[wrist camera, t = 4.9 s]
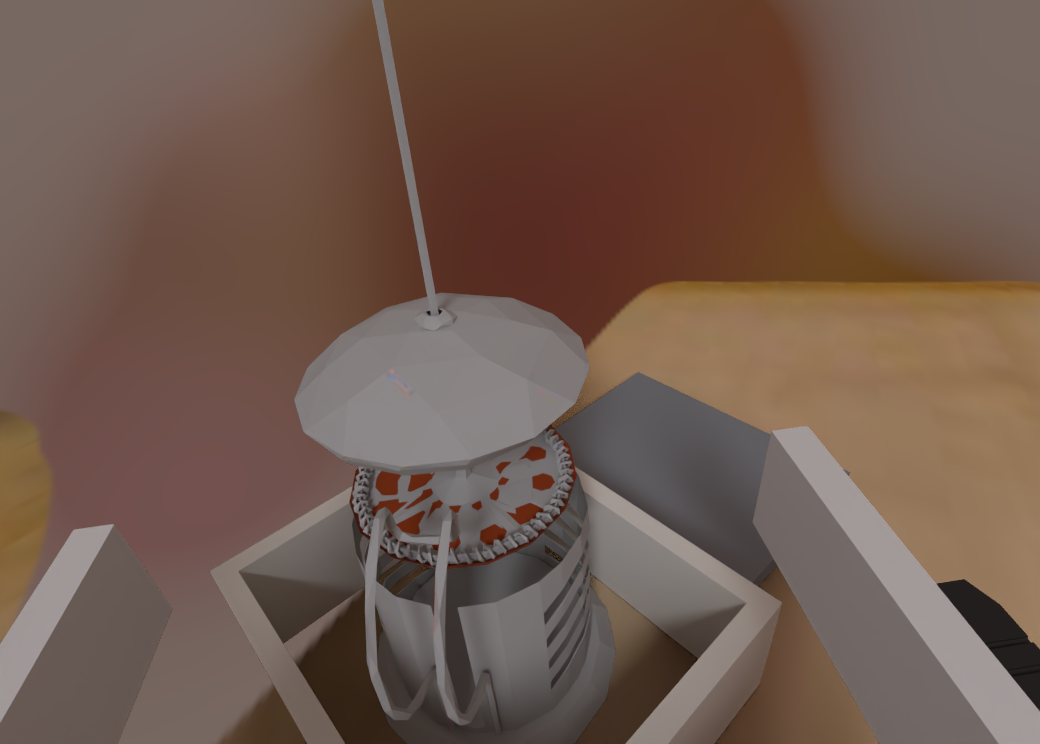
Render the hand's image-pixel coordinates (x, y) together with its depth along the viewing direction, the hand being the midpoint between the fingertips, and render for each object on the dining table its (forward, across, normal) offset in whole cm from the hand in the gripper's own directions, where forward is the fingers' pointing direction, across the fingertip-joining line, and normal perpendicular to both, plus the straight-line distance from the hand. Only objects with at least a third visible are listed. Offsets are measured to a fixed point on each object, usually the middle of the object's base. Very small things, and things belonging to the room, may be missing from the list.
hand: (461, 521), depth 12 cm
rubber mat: (+13, +10, -13) cm, 21 cm away
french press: (+5, 0, -14) cm, 14 cm away
